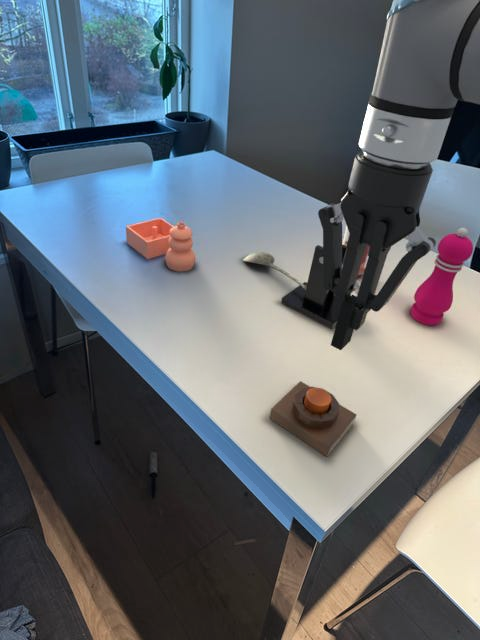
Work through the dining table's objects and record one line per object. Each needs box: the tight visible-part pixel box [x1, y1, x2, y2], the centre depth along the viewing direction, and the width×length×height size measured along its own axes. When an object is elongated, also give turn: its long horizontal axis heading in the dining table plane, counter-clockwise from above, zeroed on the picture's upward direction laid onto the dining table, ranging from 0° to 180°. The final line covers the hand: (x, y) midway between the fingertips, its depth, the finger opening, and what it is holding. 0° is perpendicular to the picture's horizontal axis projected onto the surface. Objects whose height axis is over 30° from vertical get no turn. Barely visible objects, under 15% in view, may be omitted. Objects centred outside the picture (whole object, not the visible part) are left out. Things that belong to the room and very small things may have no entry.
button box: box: [269, 381, 357, 457], centre depth 66 cm, size 10×8×4 cm
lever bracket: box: [280, 243, 347, 330], centre depth 87 cm, size 12×9×14 cm
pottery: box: [125, 217, 196, 272], centre depth 99 cm, size 18×10×10 cm, turn 42°
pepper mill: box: [409, 227, 474, 326], centre depth 87 cm, size 7×7×20 cm
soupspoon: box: [242, 251, 306, 291], centre depth 97 cm, size 22×3×7 cm
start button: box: [304, 387, 331, 414], centre depth 64 cm, size 4×4×2 cm
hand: (340, 342), depth 58 cm, fingers closed
